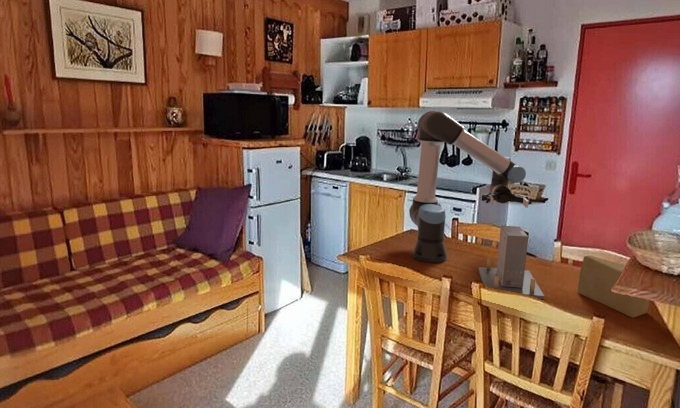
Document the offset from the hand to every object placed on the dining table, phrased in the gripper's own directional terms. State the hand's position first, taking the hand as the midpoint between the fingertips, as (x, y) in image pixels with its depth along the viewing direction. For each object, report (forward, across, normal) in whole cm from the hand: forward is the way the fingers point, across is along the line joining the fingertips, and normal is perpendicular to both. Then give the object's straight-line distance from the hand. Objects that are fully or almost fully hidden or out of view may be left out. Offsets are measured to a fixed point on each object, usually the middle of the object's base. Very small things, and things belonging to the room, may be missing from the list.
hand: (509, 203), depth 185 cm
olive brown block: (+27, -32, -28) cm, 50 cm away
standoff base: (+16, 0, -29) cm, 33 cm away
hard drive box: (+16, 0, -28) cm, 32 cm away
